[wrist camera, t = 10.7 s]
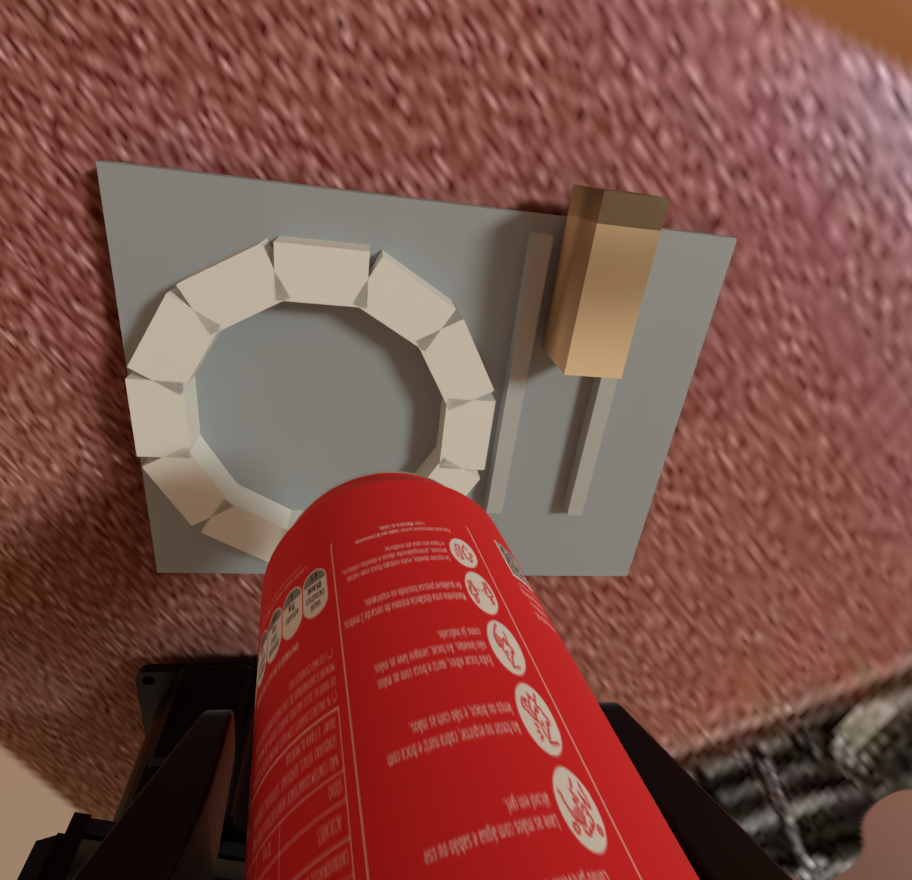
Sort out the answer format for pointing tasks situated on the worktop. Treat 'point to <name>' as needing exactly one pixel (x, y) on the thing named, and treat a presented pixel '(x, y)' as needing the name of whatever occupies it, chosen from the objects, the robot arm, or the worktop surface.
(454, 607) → the beverage can
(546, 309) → the dock board
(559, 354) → the bar
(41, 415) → the worktop surface
